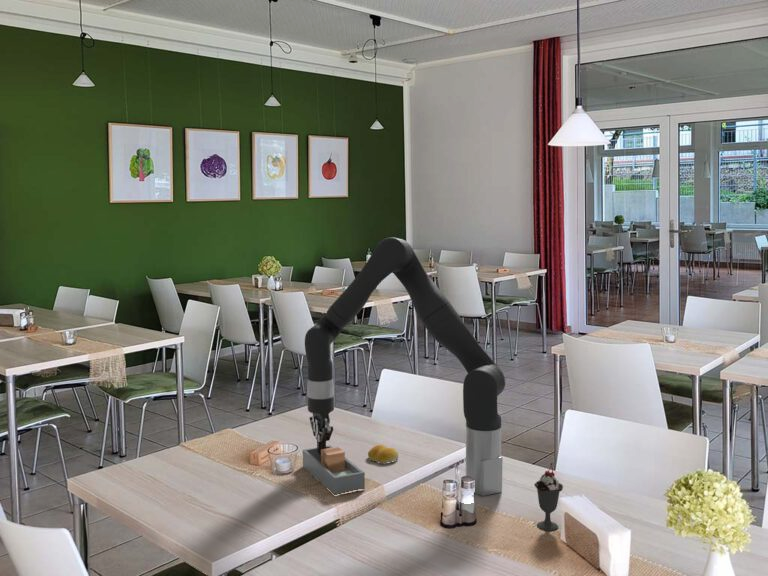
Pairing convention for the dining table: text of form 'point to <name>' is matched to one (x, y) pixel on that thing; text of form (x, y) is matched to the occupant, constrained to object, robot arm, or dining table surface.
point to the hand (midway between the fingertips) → (321, 453)
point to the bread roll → (382, 454)
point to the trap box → (334, 473)
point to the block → (333, 459)
